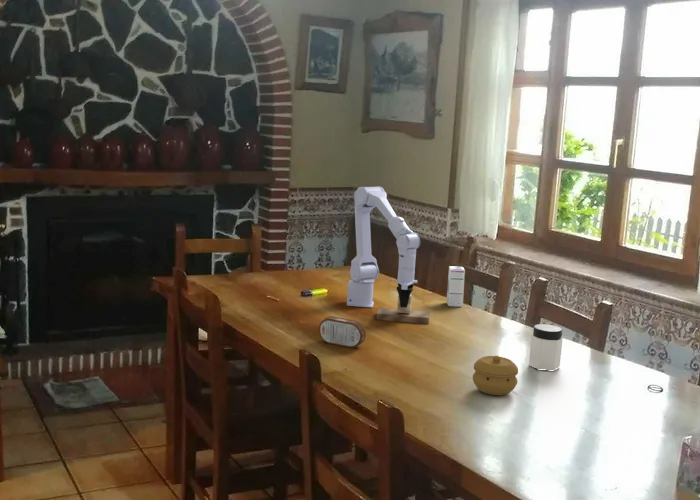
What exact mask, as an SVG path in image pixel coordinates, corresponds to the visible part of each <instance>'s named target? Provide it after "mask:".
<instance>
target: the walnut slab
mask: <svg viewBox="0 0 700 500" xmlns="http://www.w3.org/2000/svg"><path fill="white" fill-rule="evenodd" d="M376 320H377V321H389V322H399V323H400V322H401V323H413V324H424V325H429V321H430V311H422V310H411V311H410V313H398V312H397V308H387V307H379V308H378V309H377V312H376Z"/></svg>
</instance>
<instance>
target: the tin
mask: <svg viewBox="0 0 700 500" xmlns="http://www.w3.org/2000/svg"><path fill="white" fill-rule="evenodd" d="M318 334H319V336H320V338H321V339H322V340H323V341H324V342H326V343H327V344H330V345H334V346H335V345H336V346H340V347H345V348H351V349H352V348H353V349H354V348H357V347H359V346H361V345H362V344H363V343H364V342H365V340H366V336H367V335H366V334H367V333H366V330H365V327H364V326H363V325H362V323H361V322H360V321H357V320H354V319H349V318H346V317H345V318H343V317H339V316H334V315H331V316H330V315H329V316H327V317H325V318H324V319H323V320H322V321H321V322H320V323H319V326H318Z"/></svg>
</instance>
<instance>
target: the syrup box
mask: <svg viewBox="0 0 700 500" xmlns="http://www.w3.org/2000/svg"><path fill="white" fill-rule="evenodd" d="M465 274H466V270H465V268H464V267H463V266H459V265H458V266H457V265H455V266H454V265H451V266H450V265H449V266H448V276H447V294H446V304H447V306H448V307H457V308H459V307H460V308H463V305H464V292H465V291H464V290H465Z"/></svg>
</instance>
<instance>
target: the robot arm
mask: <svg viewBox="0 0 700 500" xmlns="http://www.w3.org/2000/svg"><path fill="white" fill-rule="evenodd" d="M387 193H388V192H386V191H385V189H384V188H383V186H379V185H378V186H359V187H357V189H356V190H355V192H354V193H353V194H354V195H353V196H354V198H353V199H354V219H355V220H354V223H355V243H356V255H355V257H354V258H353V259H352V260H351V261H350V263H351V265H350V270H349V275H350V278H351V280H349V281H348V284H347V295H346V306H350V307H360V308H361V307H362V308H373V307H374V304H375V301H373V297H374V282H376V279H378V276H379V274H380V269H379V266H378V262H377V261H378V260H377V259H376V257H375V256H373V255H372V238H371V237H372V236H371V235H372V234H371V217H370V216H371V215H370V214H371V211H373V209H374V208H376V209H378V211H379V212H380V213H381V214H382V215H383V217H384V218H385V219H386V221H388V224H387V227H388V229H389V230H390V232H391V233H392V235H393V237H395V239H396V246H397V251H398V253H397V254H398V268H397V269H398V270H397V279H396V282H397V286H396V291H397V294H398V295H399V299H400V306H401V307H405V308H406V307H407V305H408V300H409V297H410V294H412V292H413V291H414V285H415V284H418V279H415V273H416V271H415V270H416V269H415V268H416V259H417V258H416V257H417V249H419V247H420V246H421V238H420V236H419V233H417V232H413V230H411V229H410V228H409V226H408V225H407V223H406V222H405V219H404V218H403V217H401V216H397V214H396V213H395V211H394V209H393V207H392V206H391V204H390V202H389V201H388V199H387V196H388V195H387Z"/></svg>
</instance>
